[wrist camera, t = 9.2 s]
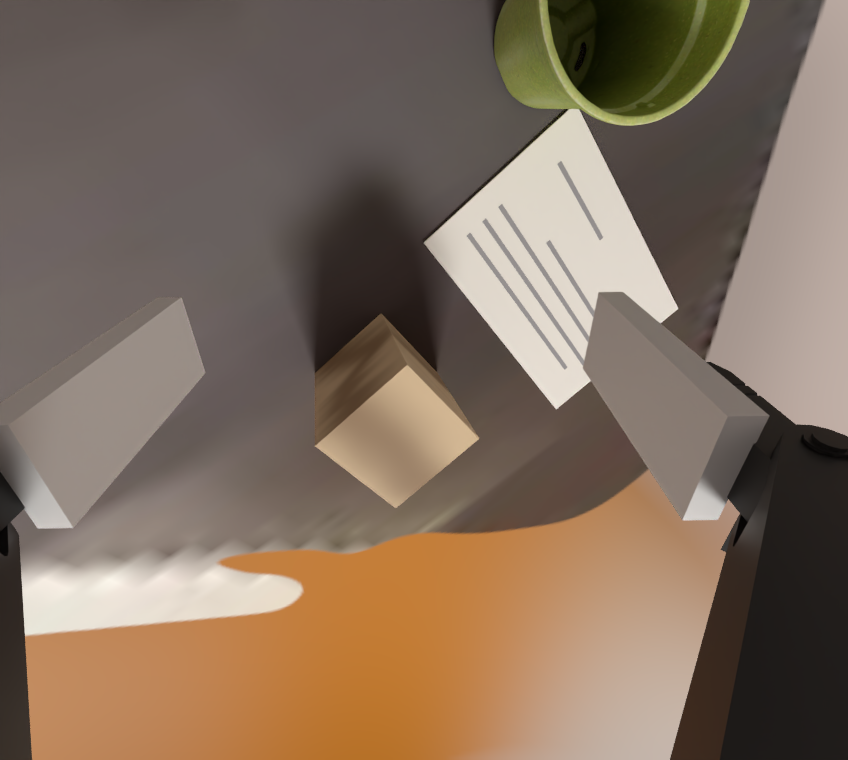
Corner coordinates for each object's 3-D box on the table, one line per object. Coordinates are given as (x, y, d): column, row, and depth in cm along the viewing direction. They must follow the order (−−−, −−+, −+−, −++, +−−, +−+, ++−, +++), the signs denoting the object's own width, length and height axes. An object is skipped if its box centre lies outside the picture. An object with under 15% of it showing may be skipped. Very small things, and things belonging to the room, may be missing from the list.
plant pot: (644, -35, 23) (805, -141, 16) (590, 156, 27) (699, 146, 19) (487, -98, 21) (587, -261, 13) (449, 122, 24) (511, 94, 17)
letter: (574, 103, 26) (576, 103, 25) (676, 308, 33) (678, 308, 33) (423, 242, 27) (424, 243, 27) (555, 408, 35) (556, 409, 34)
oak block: (380, 313, 28) (407, 364, 20) (436, 372, 31) (479, 438, 23) (314, 372, 29) (315, 445, 21) (375, 425, 32) (395, 508, 24)
